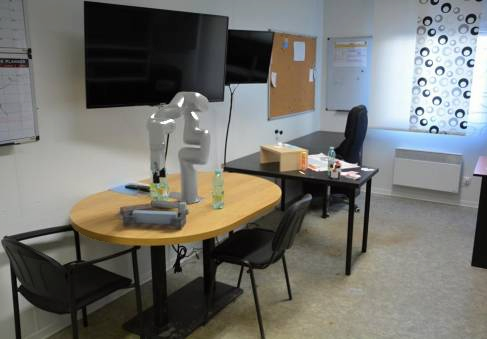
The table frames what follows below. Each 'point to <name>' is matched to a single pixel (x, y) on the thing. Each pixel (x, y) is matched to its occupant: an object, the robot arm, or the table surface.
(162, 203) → the grey long bar
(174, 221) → the cradle
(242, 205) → the table surface
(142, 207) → the grey brown block
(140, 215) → the slat
